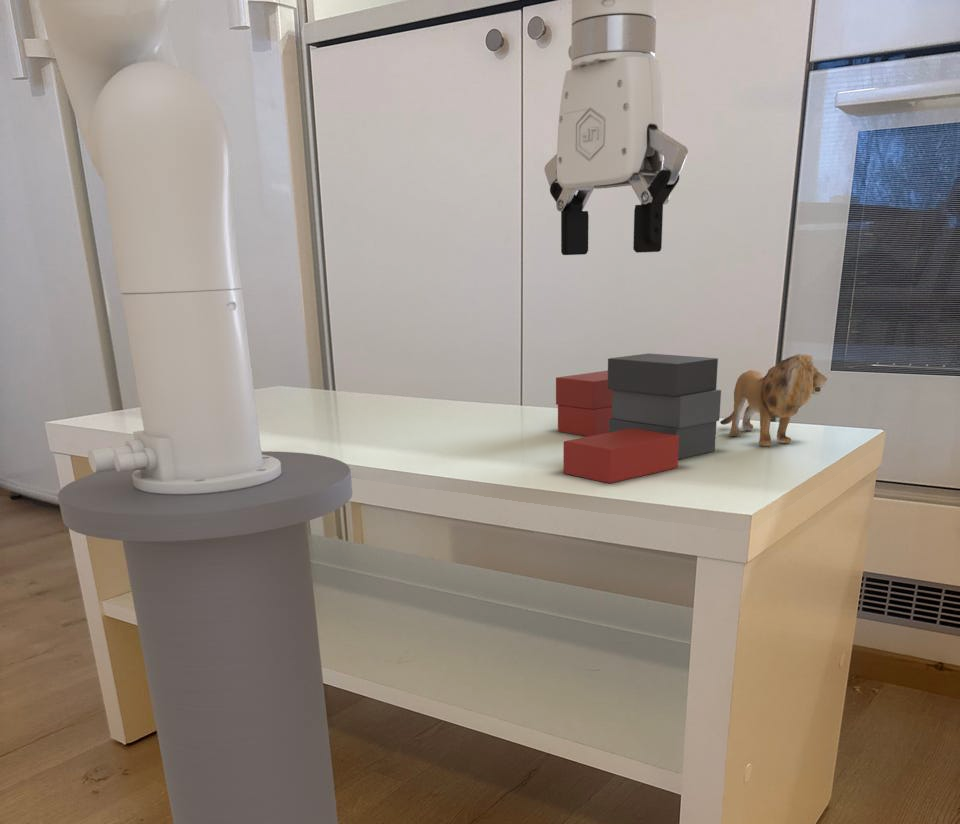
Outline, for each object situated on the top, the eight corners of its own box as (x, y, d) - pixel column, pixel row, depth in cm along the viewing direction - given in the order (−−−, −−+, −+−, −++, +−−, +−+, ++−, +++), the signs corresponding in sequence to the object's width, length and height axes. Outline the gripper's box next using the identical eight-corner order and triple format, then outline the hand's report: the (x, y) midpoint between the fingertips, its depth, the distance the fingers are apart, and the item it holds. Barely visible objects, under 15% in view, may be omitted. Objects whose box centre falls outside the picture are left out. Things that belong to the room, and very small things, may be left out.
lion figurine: (827, 447, 95) (837, 354, 91) (783, 452, 93) (791, 357, 89) (739, 426, 107) (745, 343, 104) (699, 430, 106) (703, 347, 102)
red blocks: (650, 426, 109) (652, 373, 107) (593, 437, 104) (594, 381, 102) (611, 421, 114) (612, 369, 111) (555, 431, 108) (555, 377, 106)
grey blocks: (675, 460, 91) (679, 364, 88) (606, 448, 98) (607, 358, 94) (717, 451, 95) (723, 358, 91) (648, 440, 101) (651, 352, 98)
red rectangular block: (677, 467, 88) (679, 435, 87) (609, 483, 83) (610, 449, 82) (630, 459, 92) (631, 428, 91) (563, 473, 87) (563, 441, 86)
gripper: (518, 61, 89) (521, 256, 96) (658, 24, 77) (650, 252, 83) (576, 68, 94) (575, 254, 100) (717, 34, 81) (705, 250, 87)
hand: (609, 253), depth 92 cm, fingers open, 9 cm apart
